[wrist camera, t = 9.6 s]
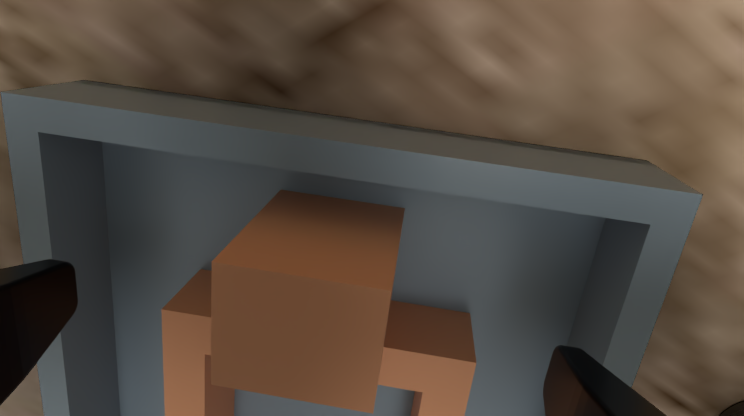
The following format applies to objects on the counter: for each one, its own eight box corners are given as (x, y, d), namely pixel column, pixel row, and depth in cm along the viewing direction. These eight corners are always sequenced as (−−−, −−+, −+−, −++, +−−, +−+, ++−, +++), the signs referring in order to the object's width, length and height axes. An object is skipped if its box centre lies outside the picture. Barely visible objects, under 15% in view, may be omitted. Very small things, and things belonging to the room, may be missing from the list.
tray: (515, 566, 16) (530, 659, 14) (115, 486, 17) (63, 560, 14) (646, 160, 11) (703, 194, 9) (83, 80, 12) (0, 92, 10)
